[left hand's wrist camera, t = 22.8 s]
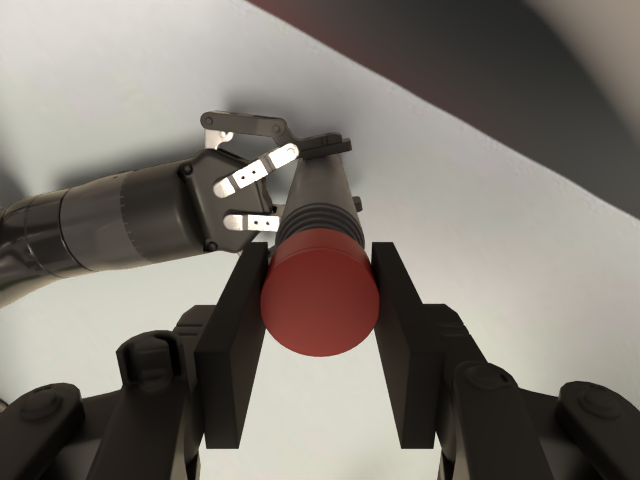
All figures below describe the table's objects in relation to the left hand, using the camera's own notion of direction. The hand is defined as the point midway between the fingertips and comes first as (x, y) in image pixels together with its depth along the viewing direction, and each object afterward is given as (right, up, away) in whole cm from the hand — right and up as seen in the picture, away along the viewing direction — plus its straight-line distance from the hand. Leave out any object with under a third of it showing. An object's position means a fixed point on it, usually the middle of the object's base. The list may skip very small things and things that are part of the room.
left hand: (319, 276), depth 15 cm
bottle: (0, +8, +22) cm, 23 cm away
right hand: (+3, +6, +16) cm, 17 cm away
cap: (0, -1, -2) cm, 2 cm away
